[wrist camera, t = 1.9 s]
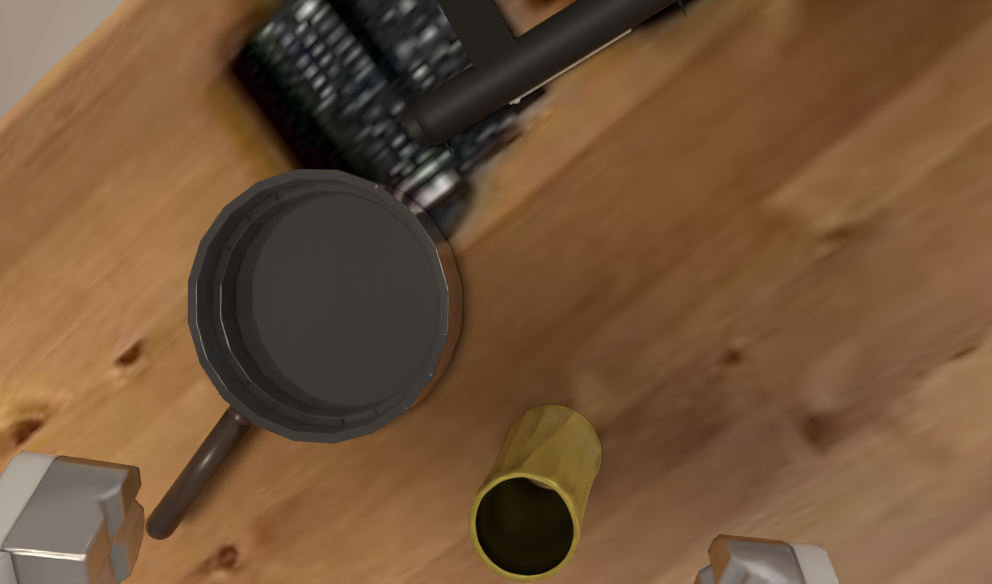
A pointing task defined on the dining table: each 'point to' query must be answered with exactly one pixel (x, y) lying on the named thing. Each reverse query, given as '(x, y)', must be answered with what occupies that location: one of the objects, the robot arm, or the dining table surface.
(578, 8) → the gun
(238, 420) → the pan handle
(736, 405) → the dining table surface
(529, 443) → the vase
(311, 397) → the pan
